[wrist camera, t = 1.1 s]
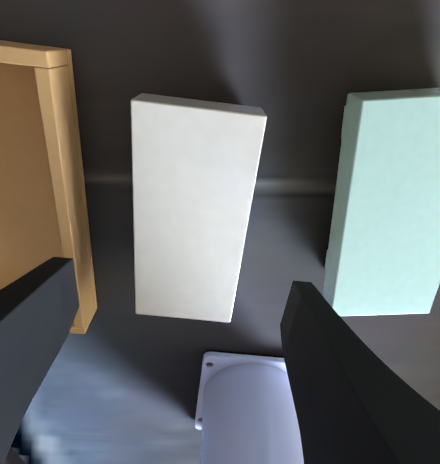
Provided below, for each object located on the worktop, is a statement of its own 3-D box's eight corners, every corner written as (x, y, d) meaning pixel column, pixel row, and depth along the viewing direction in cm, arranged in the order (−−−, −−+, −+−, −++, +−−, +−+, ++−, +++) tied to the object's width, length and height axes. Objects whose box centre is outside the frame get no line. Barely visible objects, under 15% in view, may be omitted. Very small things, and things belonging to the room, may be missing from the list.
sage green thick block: (401, 276, 20) (429, 313, 17) (316, 279, 20) (330, 317, 18) (455, 81, 15) (508, 90, 12) (337, 88, 15) (362, 100, 12)
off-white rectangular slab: (229, 285, 21) (230, 323, 18) (147, 277, 21) (135, 314, 18) (260, 102, 15) (267, 116, 12) (147, 88, 15) (130, 99, 12)
